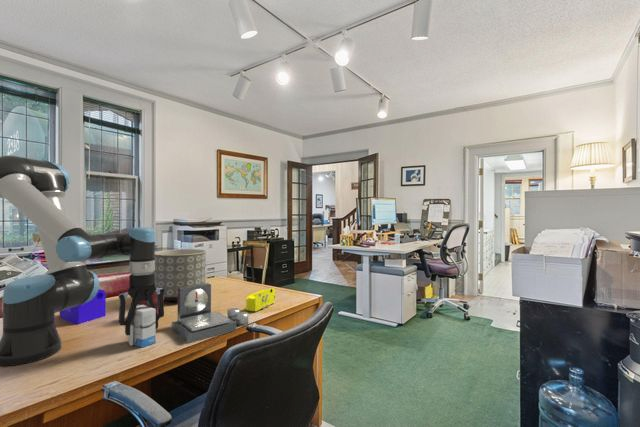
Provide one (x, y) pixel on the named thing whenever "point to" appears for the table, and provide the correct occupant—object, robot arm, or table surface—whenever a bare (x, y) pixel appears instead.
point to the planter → (179, 270)
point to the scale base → (197, 313)
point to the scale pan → (204, 321)
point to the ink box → (144, 325)
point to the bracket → (87, 310)
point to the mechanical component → (155, 301)
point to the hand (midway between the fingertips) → (141, 341)
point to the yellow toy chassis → (260, 299)
